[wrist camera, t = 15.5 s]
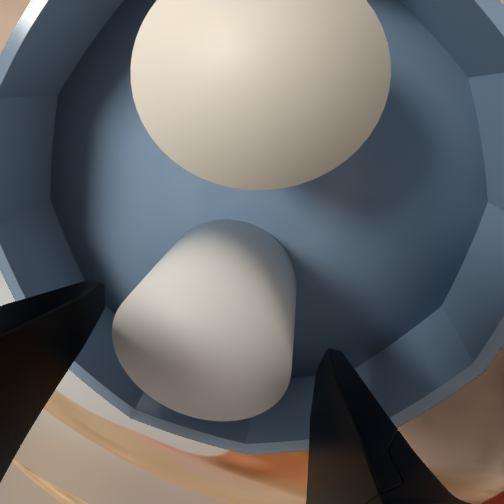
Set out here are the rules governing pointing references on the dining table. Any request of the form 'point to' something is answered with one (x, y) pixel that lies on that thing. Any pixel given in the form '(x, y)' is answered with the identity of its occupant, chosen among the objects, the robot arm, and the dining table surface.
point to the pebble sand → (260, 86)
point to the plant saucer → (496, 499)
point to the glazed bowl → (271, 209)
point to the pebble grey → (212, 323)
